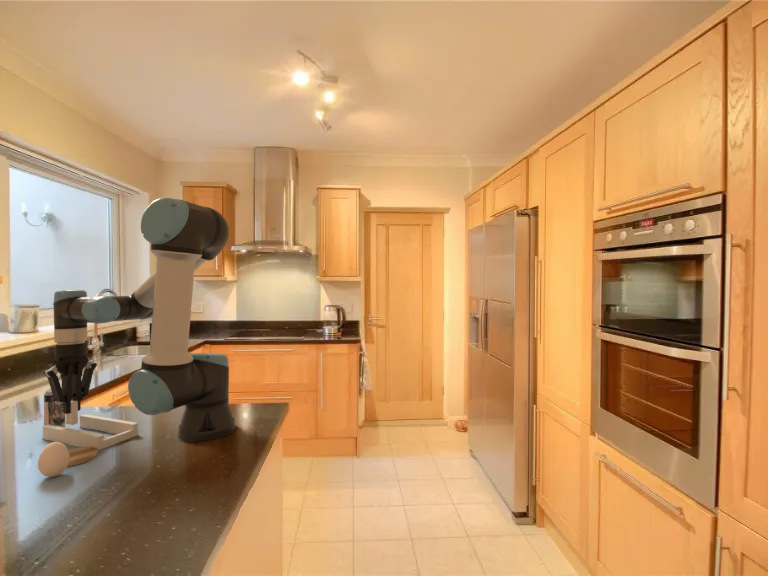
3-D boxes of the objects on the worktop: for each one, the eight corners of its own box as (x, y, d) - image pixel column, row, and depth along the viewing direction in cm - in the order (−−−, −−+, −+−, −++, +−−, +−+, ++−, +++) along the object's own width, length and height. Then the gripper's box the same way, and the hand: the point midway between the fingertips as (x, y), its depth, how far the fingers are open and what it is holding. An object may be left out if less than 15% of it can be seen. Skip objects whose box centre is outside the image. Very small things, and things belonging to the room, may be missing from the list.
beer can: (51, 433, 110) (51, 392, 110) (39, 432, 111) (39, 391, 111) (69, 427, 115) (69, 388, 115) (57, 426, 116) (57, 387, 116)
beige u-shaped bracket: (138, 435, 108) (138, 422, 108) (97, 450, 98) (97, 437, 98) (85, 425, 116) (85, 414, 116) (42, 438, 106) (42, 426, 106)
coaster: (106, 453, 96) (106, 450, 96) (61, 471, 87) (61, 467, 87) (80, 448, 100) (80, 445, 100) (34, 464, 90) (34, 461, 90)
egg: (43, 484, 81) (43, 449, 81) (34, 478, 84) (34, 443, 84) (73, 474, 86) (73, 440, 86) (64, 468, 88) (64, 435, 88)
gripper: (86, 339, 118) (87, 415, 118) (36, 345, 106) (37, 429, 105) (103, 340, 115) (104, 417, 115) (53, 346, 103) (54, 433, 103)
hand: (72, 423), depth 110 cm, fingers closed
